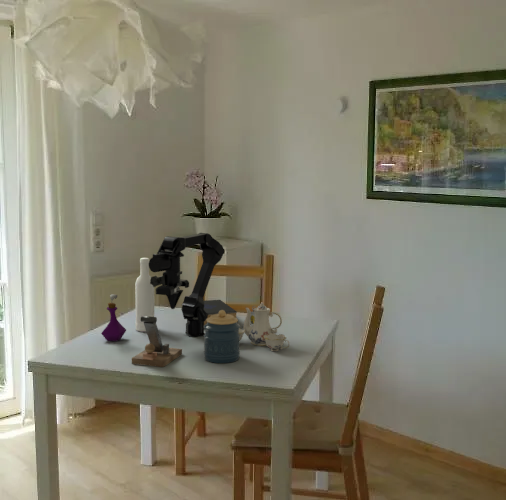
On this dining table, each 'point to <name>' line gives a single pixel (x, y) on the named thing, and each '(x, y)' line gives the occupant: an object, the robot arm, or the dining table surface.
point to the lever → (152, 332)
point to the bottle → (144, 295)
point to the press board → (159, 358)
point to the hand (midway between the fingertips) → (172, 308)
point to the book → (217, 308)
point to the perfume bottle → (113, 324)
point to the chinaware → (262, 329)
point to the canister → (221, 338)
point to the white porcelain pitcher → (251, 319)
